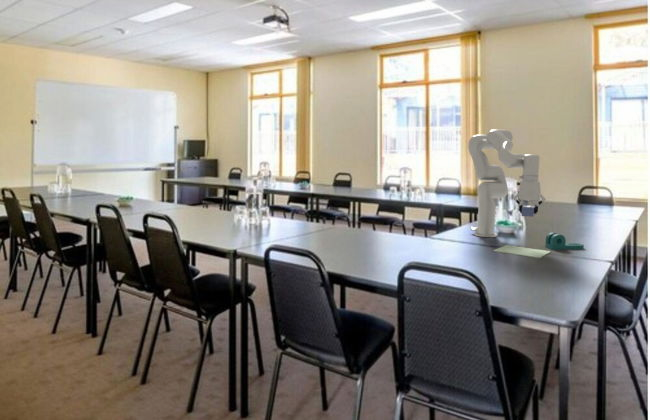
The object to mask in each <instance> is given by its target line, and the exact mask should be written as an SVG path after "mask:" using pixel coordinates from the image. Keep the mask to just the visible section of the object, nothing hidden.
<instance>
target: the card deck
mask: <svg viewBox="0 0 650 420" xmlns="http://www.w3.org/2000/svg"><path fill="white" fill-rule="evenodd" d="M522 206H523V207H522V213H521V217H534V216H535V215H536V214H535V213H534V211H535V205H534V206H533V205H522Z"/></svg>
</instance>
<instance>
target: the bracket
mask: <svg viewBox="0 0 650 420" xmlns="http://www.w3.org/2000/svg"><path fill="white" fill-rule="evenodd" d="M566 241H567V239H566V238H565V236H564V235H562V234H560V233H556V232H553V231H551V232H549V233H548V234H547V235H546V237H545V245H544V246H545V248H547V249H550V250H557V251H558V250H560V251H561V250H562V249H573V250H585V249H584V248H585V245H584V244H583V243H578V242H566Z"/></svg>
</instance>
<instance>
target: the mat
mask: <svg viewBox="0 0 650 420" xmlns="http://www.w3.org/2000/svg"><path fill="white" fill-rule="evenodd" d="M492 252H495V253H501V254H502V253H503V254H509V255H517V256H524V257H529V258H536V259H541V258H542V257H544V256H546V255H548V254H549V253H551V251H550V250H544V249H535V248H529V247H523V246H514V245H509V244H505V245H504V246H501V247H500V246H499V247H498V248H496V249H493V251H492Z"/></svg>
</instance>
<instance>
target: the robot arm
mask: <svg viewBox="0 0 650 420" xmlns="http://www.w3.org/2000/svg"><path fill="white" fill-rule="evenodd" d="M513 139H514V138H513V133H512V132H511V131H510V130H507V129H491V130H490V131H488V132H487V133H486V134H475V135H472V136H471V137H470V138H469V141H468V146H467V148H468V153H469V155H470V156H471V159H472V164H473V167H474V171H475V174H476V178H477V180H478V181H481V182H482V181H483V182H482V183H480V184H478V187H477V197H478V199H477V200H478V211H477V226H476V227H473V226H471V228H470V231H473V232H474V231H475V232H474V234H473V235H474V236H475V237H481V238H496V237H497V236H498V234H497V233H496V232H495V226H496V225H495V223H496V210H497V209H496V207H497V205H496V202H495V201H494V199H502V198H503V199H504V198H505V197H506V196H508V193H509V189H508V188H509V186H508V183H507V179H506V176H505V172H504V169H503V167H502V166H500V165H499V164H491V163H490V161H489V157H488V155H487V153H485V152H484V151H483V150H496V151H497V152H498V153H497V156H498V160H499V161H500V163H502V165H504V166H505V167H506V168H509V169H522V175H521V176H520V175H519V179H520V183H519V188H518V193H517V194H516V195H514V197H512V199H513V200H514V202H515V203H517V204H518V205H519V206H518V212H520V214H522V207H523V206H524V205H523V203H524V201H526V202H534V203H535V205H534V206H535V211H534V213H535V215H537V214H538V212H539V206H540V205H541V204H543V203H544V202H545V201H546V198H545V196H543V194H542V193H541V182H540V181H539V174H540V173H539V171H540V170H539V169H540V155H539V154H535V153H534V154H531V153H530V154H529V153H511V151H512V149H513V146H514V144H513ZM518 199H519V200H520V201H519V200H518Z"/></svg>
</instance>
